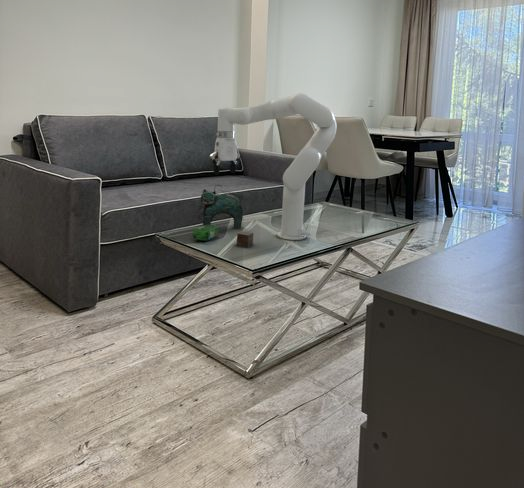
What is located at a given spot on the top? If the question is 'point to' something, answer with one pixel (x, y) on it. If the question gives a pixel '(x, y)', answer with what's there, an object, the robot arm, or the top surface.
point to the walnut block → (245, 239)
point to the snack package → (205, 232)
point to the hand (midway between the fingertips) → (224, 173)
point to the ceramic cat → (221, 206)
